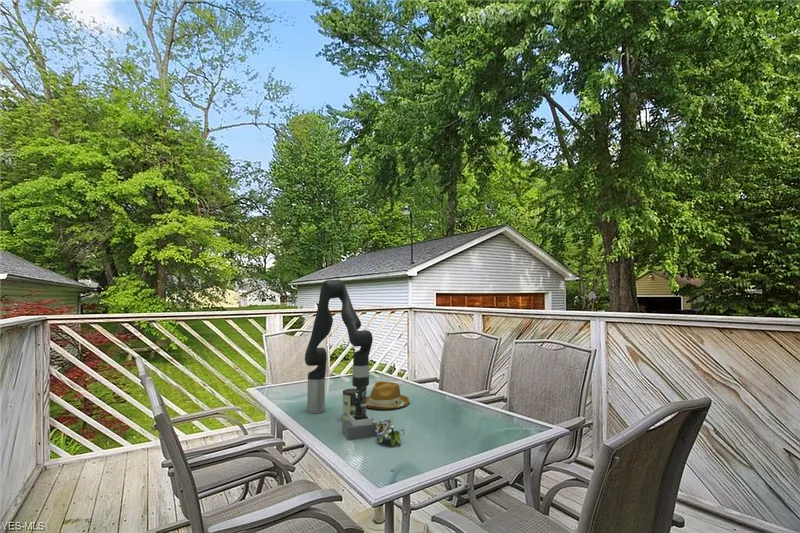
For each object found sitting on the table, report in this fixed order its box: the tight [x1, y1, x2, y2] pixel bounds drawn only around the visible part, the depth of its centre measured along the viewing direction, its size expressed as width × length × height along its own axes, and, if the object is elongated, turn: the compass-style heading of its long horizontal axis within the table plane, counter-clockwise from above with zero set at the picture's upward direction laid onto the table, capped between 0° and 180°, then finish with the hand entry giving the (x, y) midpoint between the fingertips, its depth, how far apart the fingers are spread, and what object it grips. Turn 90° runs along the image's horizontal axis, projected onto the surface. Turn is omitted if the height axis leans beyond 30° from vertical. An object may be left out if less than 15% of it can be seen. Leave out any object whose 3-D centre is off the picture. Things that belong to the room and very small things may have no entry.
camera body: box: [341, 413, 379, 441], centre depth 178 cm, size 10×14×8 cm
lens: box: [355, 395, 367, 420], centre depth 179 cm, size 5×5×10 cm
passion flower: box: [375, 417, 406, 448], centre depth 169 cm, size 11×11×12 cm
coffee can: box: [342, 387, 357, 421], centre depth 199 cm, size 10×10×14 cm
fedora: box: [366, 380, 410, 411], centre depth 226 cm, size 27×29×12 cm
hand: (360, 412), depth 178 cm, fingers closed on lens, 5 cm apart
